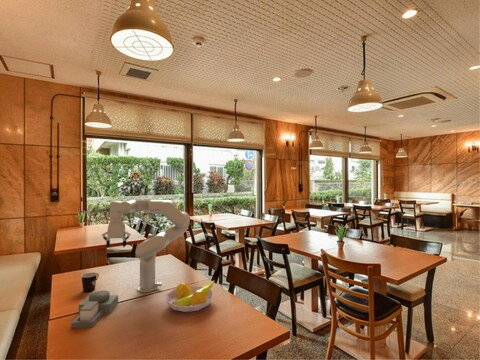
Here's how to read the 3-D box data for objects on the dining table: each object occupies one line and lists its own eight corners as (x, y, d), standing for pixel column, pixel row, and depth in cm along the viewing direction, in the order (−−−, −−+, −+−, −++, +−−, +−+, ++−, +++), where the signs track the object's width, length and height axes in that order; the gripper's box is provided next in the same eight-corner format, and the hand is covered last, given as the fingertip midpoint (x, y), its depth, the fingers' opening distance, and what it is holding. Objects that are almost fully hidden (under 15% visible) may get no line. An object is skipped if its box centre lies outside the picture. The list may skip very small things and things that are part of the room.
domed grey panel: (118, 303, 150) (118, 289, 150) (99, 326, 127) (99, 310, 127) (89, 304, 149) (89, 290, 149) (64, 328, 126) (64, 311, 126)
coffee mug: (84, 294, 161) (84, 278, 161) (78, 290, 167) (78, 275, 167) (104, 288, 171) (104, 273, 171) (97, 285, 176) (97, 270, 176)
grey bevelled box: (98, 314, 138) (98, 301, 138) (90, 323, 130) (90, 308, 130) (88, 314, 137) (88, 301, 137) (80, 323, 129) (80, 309, 129)
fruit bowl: (165, 321, 133) (166, 299, 133) (166, 297, 159) (166, 278, 159) (220, 314, 140) (220, 293, 140) (212, 292, 166) (212, 274, 166)
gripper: (132, 219, 174) (131, 245, 175) (104, 219, 172) (104, 245, 172) (128, 221, 167) (128, 248, 167) (99, 221, 165) (99, 248, 165)
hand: (116, 246), depth 170 cm, fingers open, 9 cm apart
